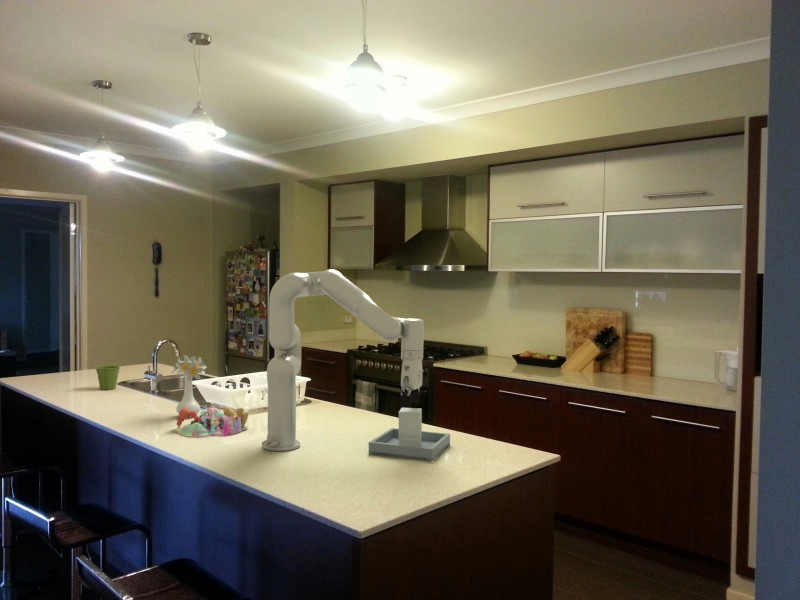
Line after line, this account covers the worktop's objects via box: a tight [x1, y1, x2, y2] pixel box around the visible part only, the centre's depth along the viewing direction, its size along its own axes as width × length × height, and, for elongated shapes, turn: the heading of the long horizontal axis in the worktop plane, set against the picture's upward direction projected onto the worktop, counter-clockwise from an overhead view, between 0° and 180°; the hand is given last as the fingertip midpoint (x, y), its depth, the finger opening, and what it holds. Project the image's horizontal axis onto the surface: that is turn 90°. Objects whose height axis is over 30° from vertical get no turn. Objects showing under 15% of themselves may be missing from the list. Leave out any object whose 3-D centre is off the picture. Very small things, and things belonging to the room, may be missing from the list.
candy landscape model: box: [175, 406, 249, 439], centre depth 237 cm, size 25×24×9 cm
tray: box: [368, 427, 451, 462], centre depth 214 cm, size 22×22×4 cm
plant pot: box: [94, 365, 121, 391], centre depth 318 cm, size 12×12×11 cm
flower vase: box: [171, 354, 207, 419], centre depth 258 cm, size 13×18×25 cm
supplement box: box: [398, 407, 423, 447], centre depth 214 cm, size 7×7×13 cm
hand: (409, 404), depth 214 cm, fingers open, 9 cm apart
